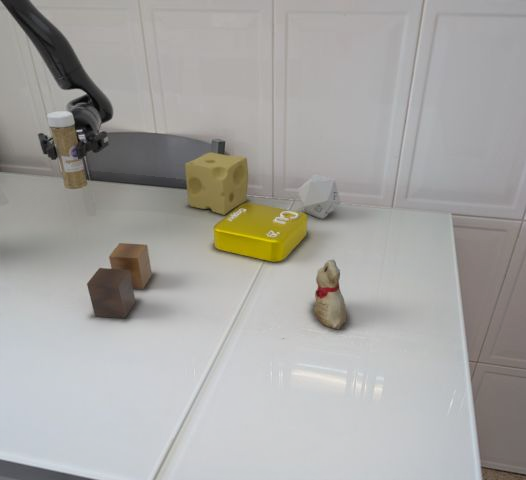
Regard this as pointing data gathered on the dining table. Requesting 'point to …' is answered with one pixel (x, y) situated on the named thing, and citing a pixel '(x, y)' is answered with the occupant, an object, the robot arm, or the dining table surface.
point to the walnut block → (111, 293)
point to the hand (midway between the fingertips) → (65, 153)
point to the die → (319, 196)
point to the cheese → (217, 182)
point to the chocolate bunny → (329, 296)
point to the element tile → (260, 231)
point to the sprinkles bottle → (67, 149)
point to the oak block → (133, 262)
